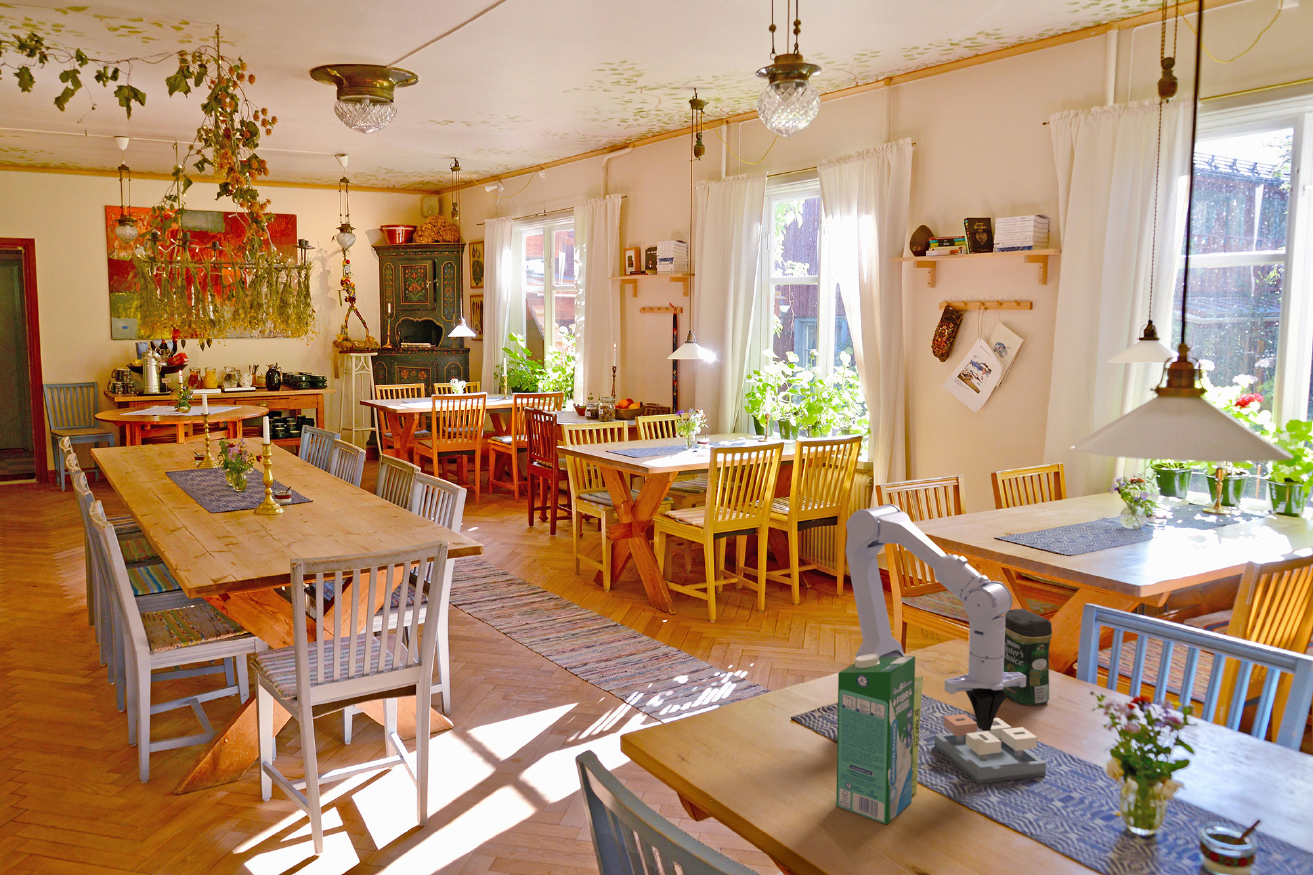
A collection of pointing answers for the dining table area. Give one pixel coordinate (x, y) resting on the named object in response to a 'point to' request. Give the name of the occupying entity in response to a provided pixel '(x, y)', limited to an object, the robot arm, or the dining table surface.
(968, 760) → the keypad base
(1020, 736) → the key
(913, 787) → the tube
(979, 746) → the key
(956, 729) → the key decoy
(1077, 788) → the dining table surface
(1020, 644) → the coffee jar
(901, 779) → the milk carton
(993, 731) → the key
